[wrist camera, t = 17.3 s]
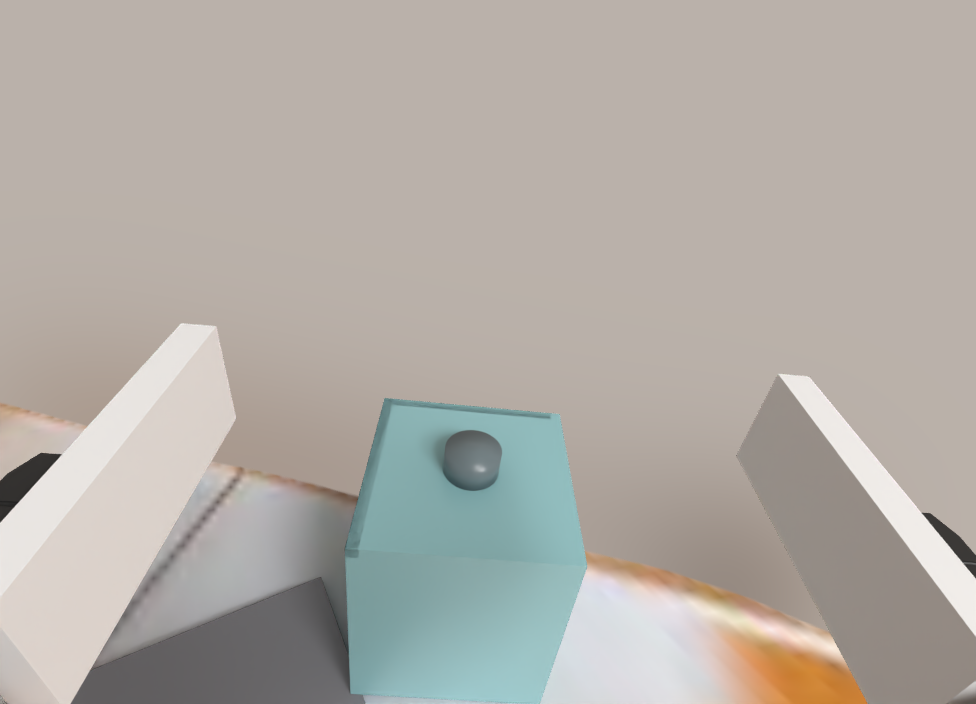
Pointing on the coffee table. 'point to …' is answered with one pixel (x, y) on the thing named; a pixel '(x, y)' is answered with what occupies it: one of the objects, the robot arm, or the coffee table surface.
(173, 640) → the mat
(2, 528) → the robot arm
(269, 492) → the coffee table surface
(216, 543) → the coffee table surface
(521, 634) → the teal box with knob
